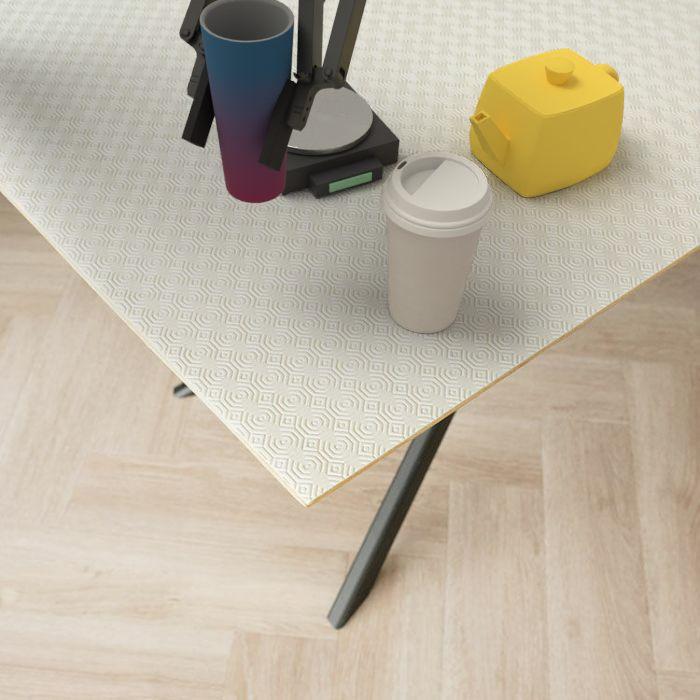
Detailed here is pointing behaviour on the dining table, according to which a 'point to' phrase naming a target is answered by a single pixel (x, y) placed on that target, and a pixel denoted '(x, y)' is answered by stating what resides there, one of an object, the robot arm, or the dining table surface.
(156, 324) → the dining table surface
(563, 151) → the teapot
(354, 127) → the scale pan
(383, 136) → the scale
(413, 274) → the coffee cup
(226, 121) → the cup
